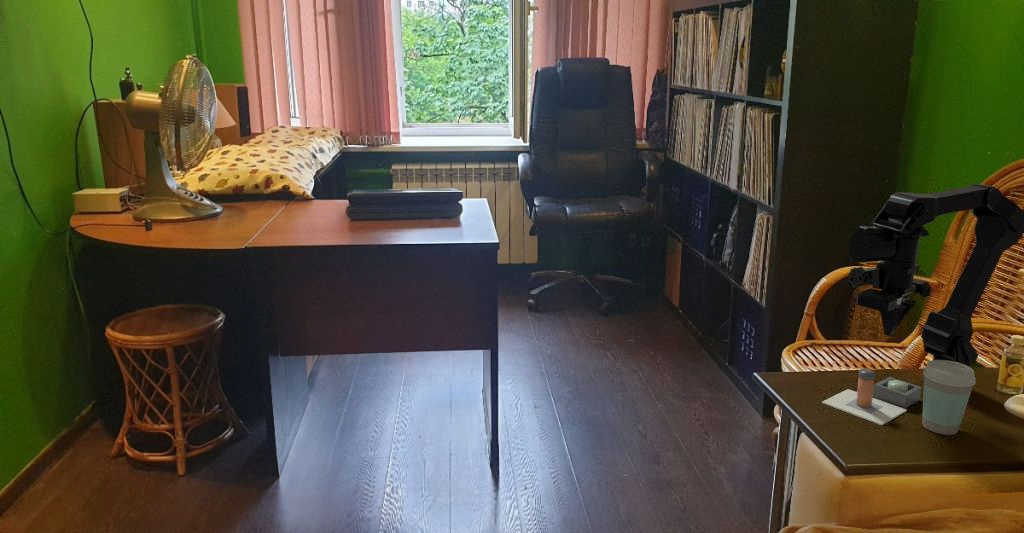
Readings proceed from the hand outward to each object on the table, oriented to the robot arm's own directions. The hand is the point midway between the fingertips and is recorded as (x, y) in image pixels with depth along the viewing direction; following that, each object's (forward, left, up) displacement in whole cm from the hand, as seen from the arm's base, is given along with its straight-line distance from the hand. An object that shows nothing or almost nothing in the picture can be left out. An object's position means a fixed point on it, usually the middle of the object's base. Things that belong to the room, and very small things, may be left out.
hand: (888, 334), depth 153 cm
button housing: (-1, +3, -13) cm, 13 cm away
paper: (+8, +1, -13) cm, 15 cm away
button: (-1, +3, -12) cm, 13 cm away
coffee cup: (+5, +14, -13) cm, 20 cm away
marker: (+8, +1, -13) cm, 15 cm away
